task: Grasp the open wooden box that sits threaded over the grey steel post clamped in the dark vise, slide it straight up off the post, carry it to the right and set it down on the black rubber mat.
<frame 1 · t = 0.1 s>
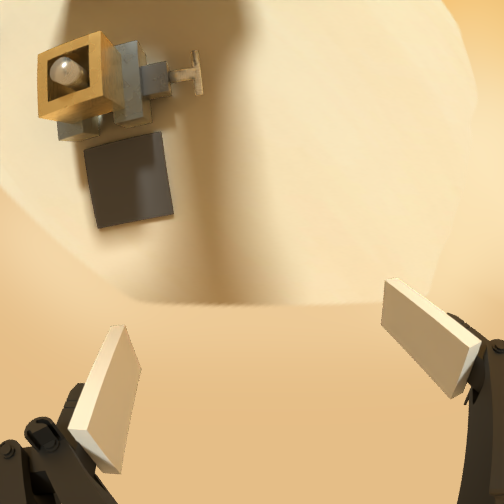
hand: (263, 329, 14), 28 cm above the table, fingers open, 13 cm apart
open wooden box: (95, 88, 27), point 6 cm above the table, touching vise
mat: (127, 180, 37), on the table
vise: (109, 97, 33), on the table
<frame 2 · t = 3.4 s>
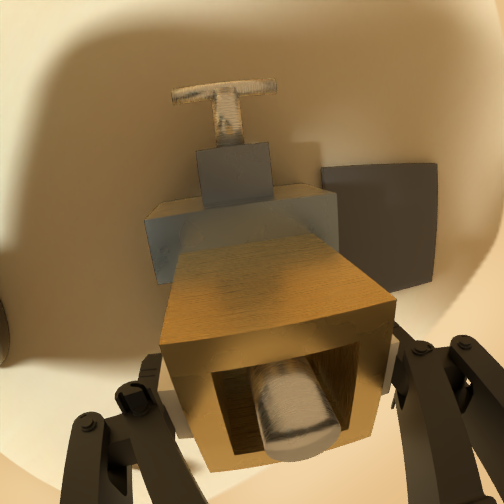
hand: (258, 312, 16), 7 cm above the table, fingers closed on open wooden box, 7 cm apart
open wooden box: (254, 303, 17), point 6 cm above the table, touching gripper, vise
mat: (385, 230, 23), on the table
vise: (242, 266, 22), on the table
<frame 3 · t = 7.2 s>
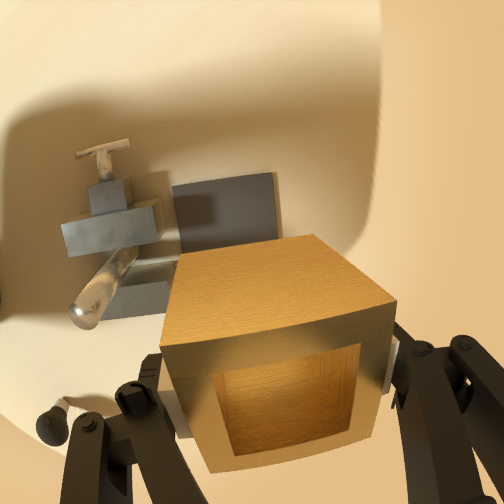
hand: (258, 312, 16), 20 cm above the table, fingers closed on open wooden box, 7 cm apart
open wooden box: (255, 304, 17), point 19 cm above the table, touching gripper
mat: (228, 226, 34), on the table
vise: (129, 251, 34), on the table
light bulb: (64, 399, 39), on the table
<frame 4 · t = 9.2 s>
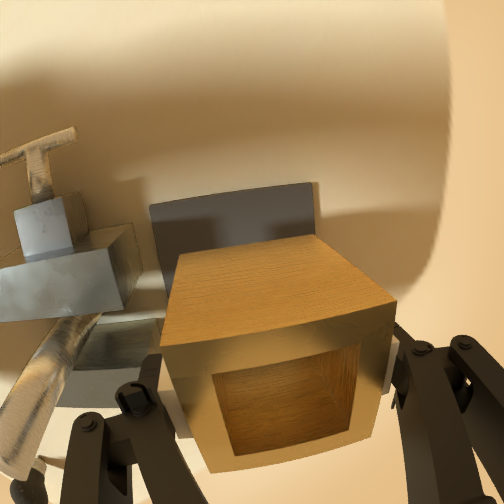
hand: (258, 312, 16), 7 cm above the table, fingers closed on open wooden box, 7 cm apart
open wooden box: (255, 304, 17), point 6 cm above the table, touching gripper
mat: (240, 268, 22), on the table
vise: (90, 302, 21), on the table
light bulb: (40, 457, 26), on the table
when the fingers open (3 cm above the table, at t = 10.9 s): open wooden box drops 1 cm, resting on mat.
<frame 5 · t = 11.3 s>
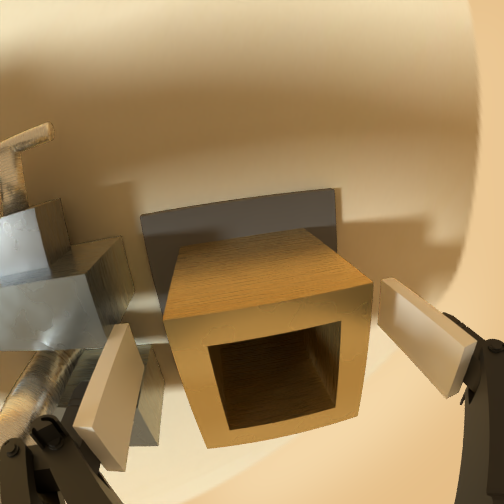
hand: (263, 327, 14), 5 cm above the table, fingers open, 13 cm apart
open wooden box: (250, 293, 18), point 1 cm above the table, touching mat
mat: (249, 288, 19), on the table
vise: (77, 325, 18), on the table
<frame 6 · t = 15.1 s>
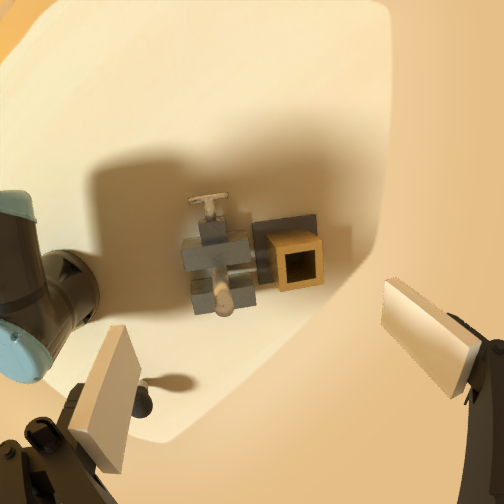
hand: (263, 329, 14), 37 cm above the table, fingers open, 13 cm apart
open wooden box: (287, 250, 52), point 1 cm above the table, touching mat
mat: (286, 249, 53), on the table
vise: (218, 265, 52), on the table
light bulb: (143, 381, 57), on the table
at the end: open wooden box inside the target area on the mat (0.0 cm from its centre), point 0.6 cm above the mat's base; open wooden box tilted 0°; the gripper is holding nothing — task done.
